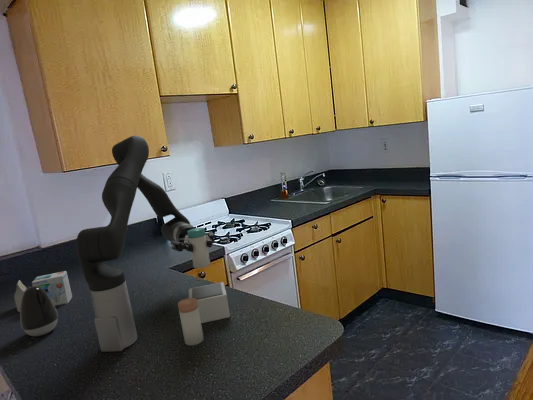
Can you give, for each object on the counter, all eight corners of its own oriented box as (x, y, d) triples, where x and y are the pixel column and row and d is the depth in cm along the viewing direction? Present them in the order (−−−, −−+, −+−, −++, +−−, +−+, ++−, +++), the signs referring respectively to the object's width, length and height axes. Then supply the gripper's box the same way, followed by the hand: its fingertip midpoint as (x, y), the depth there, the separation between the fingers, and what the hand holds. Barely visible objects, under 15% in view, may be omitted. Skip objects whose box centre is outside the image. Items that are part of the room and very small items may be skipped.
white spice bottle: (199, 345, 102) (192, 305, 100) (182, 345, 102) (174, 306, 101) (206, 335, 106) (199, 297, 104) (189, 335, 107) (182, 298, 105)
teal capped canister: (201, 269, 114) (194, 232, 112) (190, 267, 117) (183, 231, 115) (213, 263, 117) (207, 228, 116) (202, 261, 121) (197, 227, 119)
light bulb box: (37, 310, 142) (30, 282, 140) (42, 303, 149) (36, 276, 147) (69, 303, 145) (62, 275, 143) (72, 296, 151) (66, 270, 149)
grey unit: (230, 316, 115) (226, 293, 114) (192, 325, 113) (188, 301, 112) (226, 301, 126) (223, 280, 125) (192, 309, 124) (188, 287, 123)
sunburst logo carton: (17, 312, 143) (11, 286, 141) (19, 306, 149) (13, 281, 147) (29, 308, 144) (22, 283, 143) (30, 303, 150) (24, 278, 149)
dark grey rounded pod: (55, 321, 130) (44, 278, 127) (65, 329, 123) (54, 283, 120) (20, 334, 123) (8, 289, 121) (29, 344, 116) (16, 296, 113)
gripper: (163, 229, 125) (174, 239, 110) (205, 220, 131) (222, 228, 116) (167, 252, 127) (179, 265, 111) (209, 241, 133) (226, 252, 117)
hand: (201, 246), depth 114 cm, fingers closed on teal capped canister, 5 cm apart
